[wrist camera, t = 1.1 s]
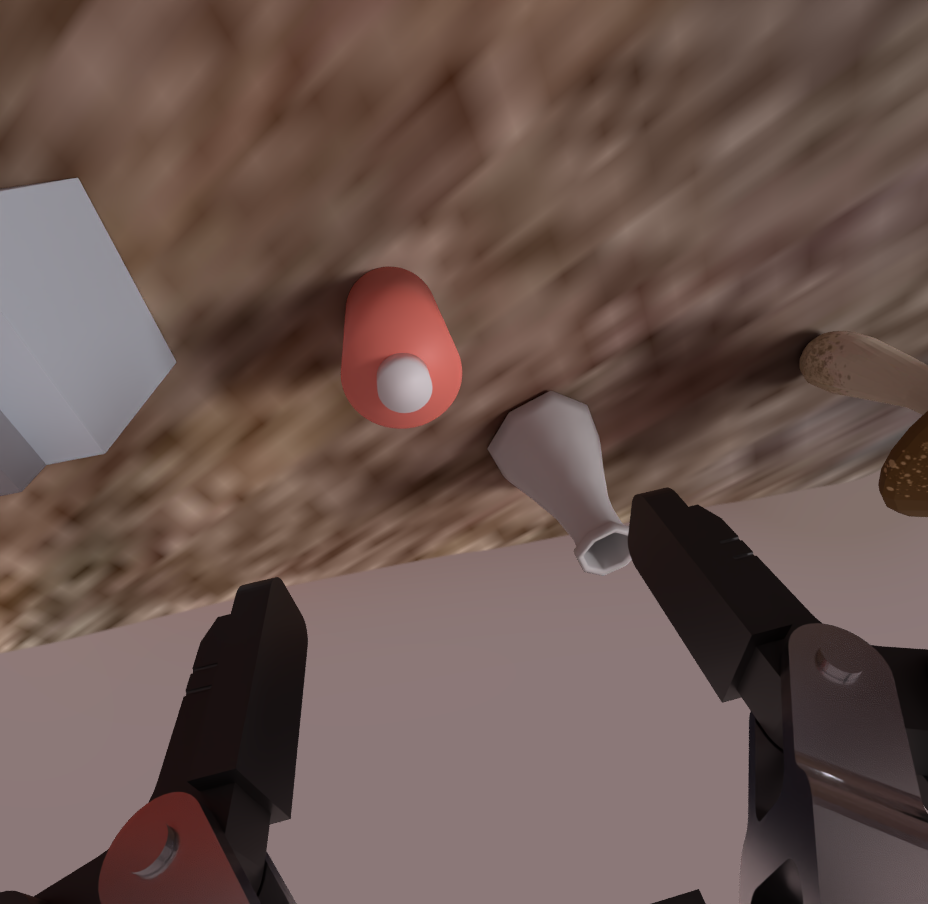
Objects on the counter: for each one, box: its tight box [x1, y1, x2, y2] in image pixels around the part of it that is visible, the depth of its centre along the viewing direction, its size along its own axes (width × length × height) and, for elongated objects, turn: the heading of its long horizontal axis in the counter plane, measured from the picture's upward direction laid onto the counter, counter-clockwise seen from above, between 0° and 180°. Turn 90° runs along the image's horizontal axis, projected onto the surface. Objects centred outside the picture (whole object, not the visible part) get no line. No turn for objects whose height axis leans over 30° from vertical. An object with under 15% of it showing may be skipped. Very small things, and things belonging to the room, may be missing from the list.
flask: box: [487, 391, 632, 576], centre depth 26 cm, size 7×7×10 cm
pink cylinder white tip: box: [341, 267, 462, 428], centre depth 20 cm, size 5×5×8 cm
